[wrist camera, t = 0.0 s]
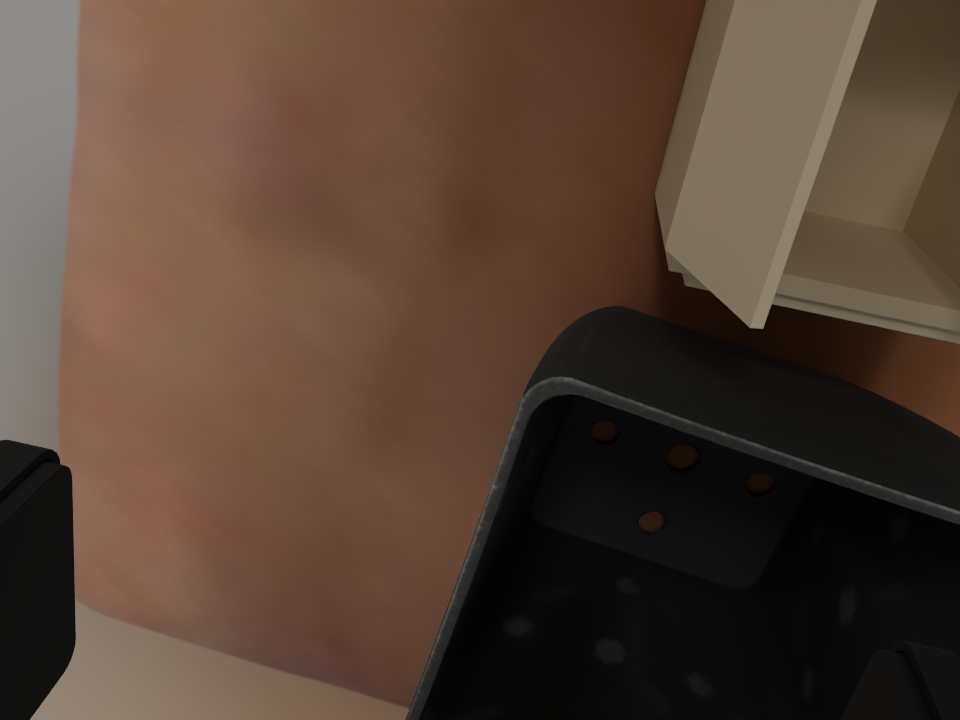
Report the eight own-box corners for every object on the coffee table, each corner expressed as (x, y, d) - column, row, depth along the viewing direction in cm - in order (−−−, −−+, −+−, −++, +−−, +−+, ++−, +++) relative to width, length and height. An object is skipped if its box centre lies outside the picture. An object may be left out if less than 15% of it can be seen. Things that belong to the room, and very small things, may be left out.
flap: (800, -183, 24) (787, -186, 24) (943, -194, 19) (928, -199, 19) (676, 250, 30) (664, 248, 29) (763, 328, 25) (749, 327, 24)
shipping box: (758, -195, 33) (816, -241, 24) (1063, -136, 33) (1237, -161, 24) (651, 204, 40) (664, 284, 31) (904, 257, 39) (993, 354, 30)
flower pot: (559, 207, 40) (531, 374, 25) (966, 341, 40) (1181, 585, 25) (443, 539, 49) (370, 815, 33) (782, 648, 49) (861, 970, 34)
